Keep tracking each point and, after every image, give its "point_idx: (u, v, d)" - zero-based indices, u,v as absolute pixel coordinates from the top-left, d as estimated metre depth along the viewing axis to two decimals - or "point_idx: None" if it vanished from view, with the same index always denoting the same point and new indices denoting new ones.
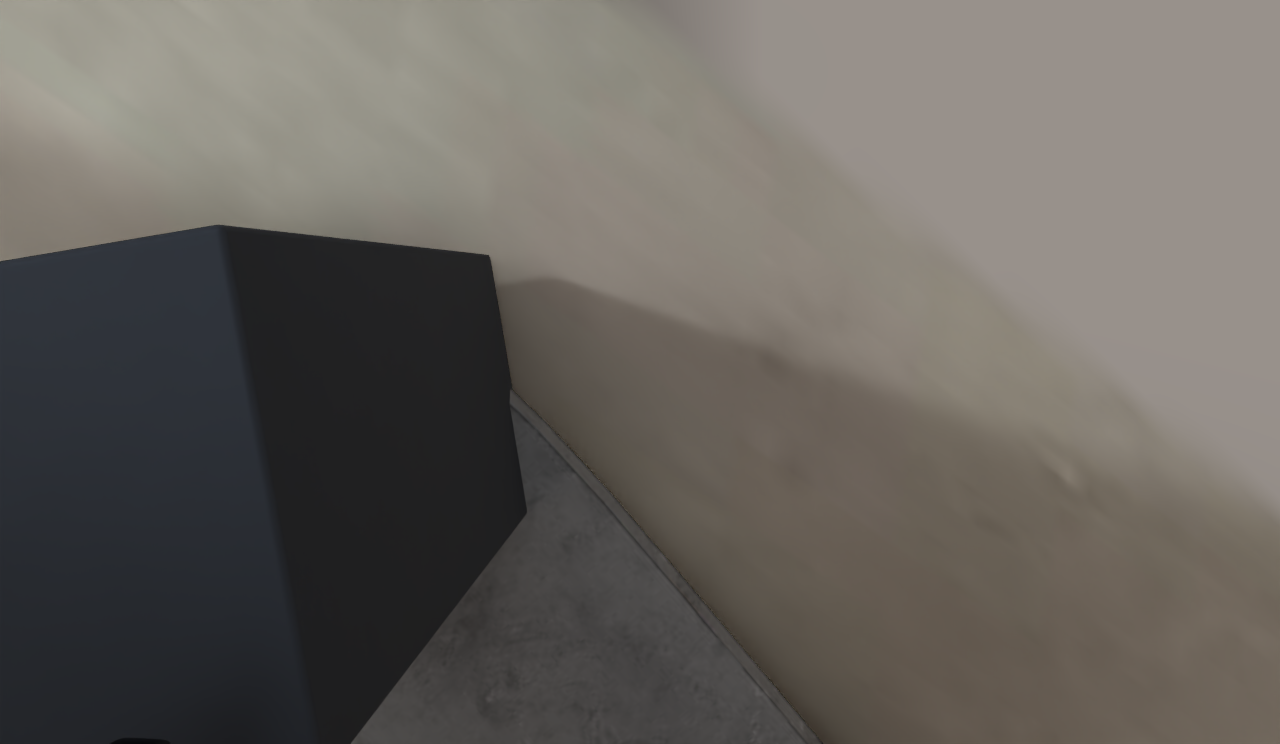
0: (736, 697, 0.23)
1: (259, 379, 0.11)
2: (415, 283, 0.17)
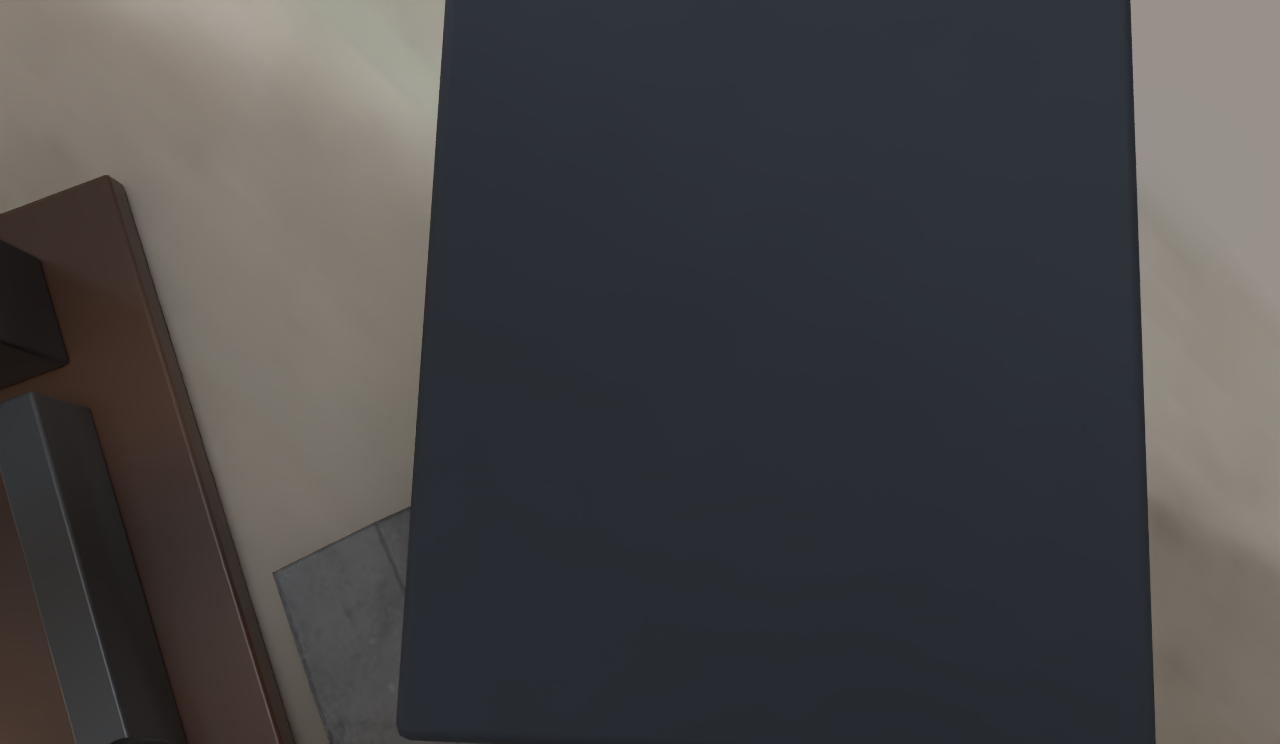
0: None
1: (1126, 119, 0.07)
2: None
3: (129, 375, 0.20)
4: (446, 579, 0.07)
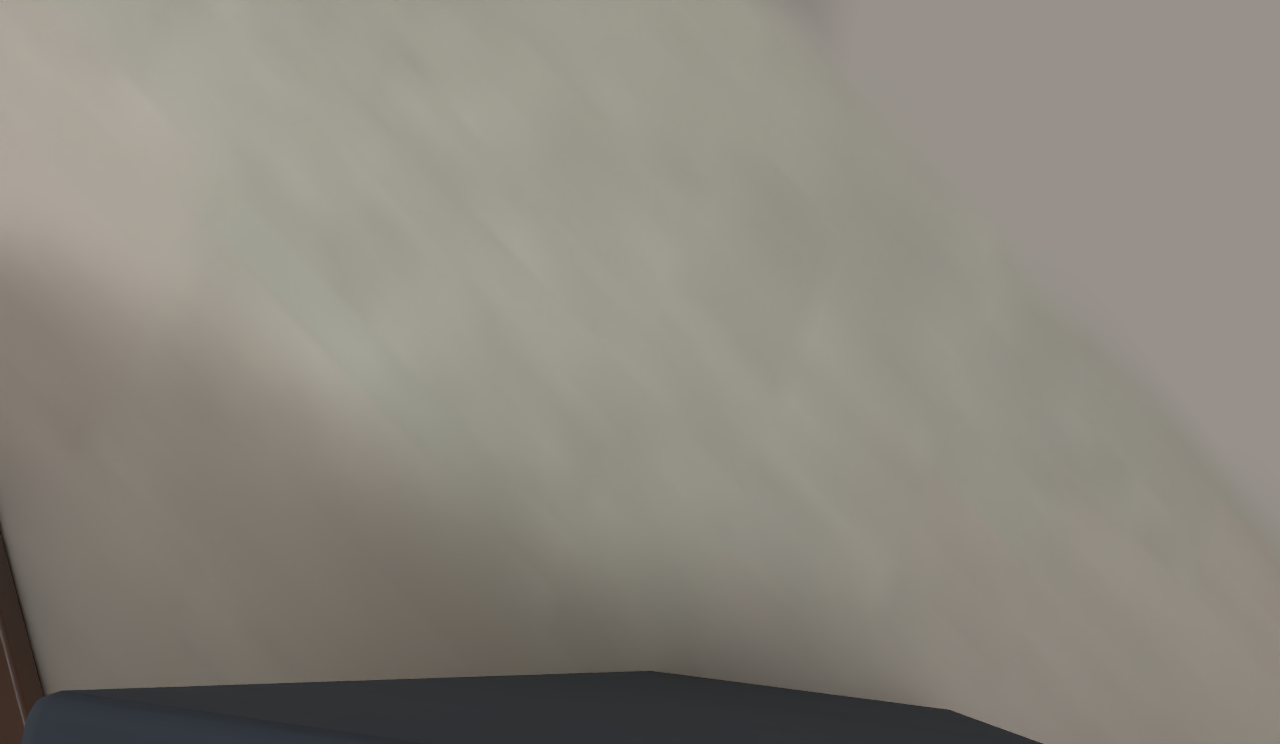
0: None
1: None
2: None
3: None
4: None
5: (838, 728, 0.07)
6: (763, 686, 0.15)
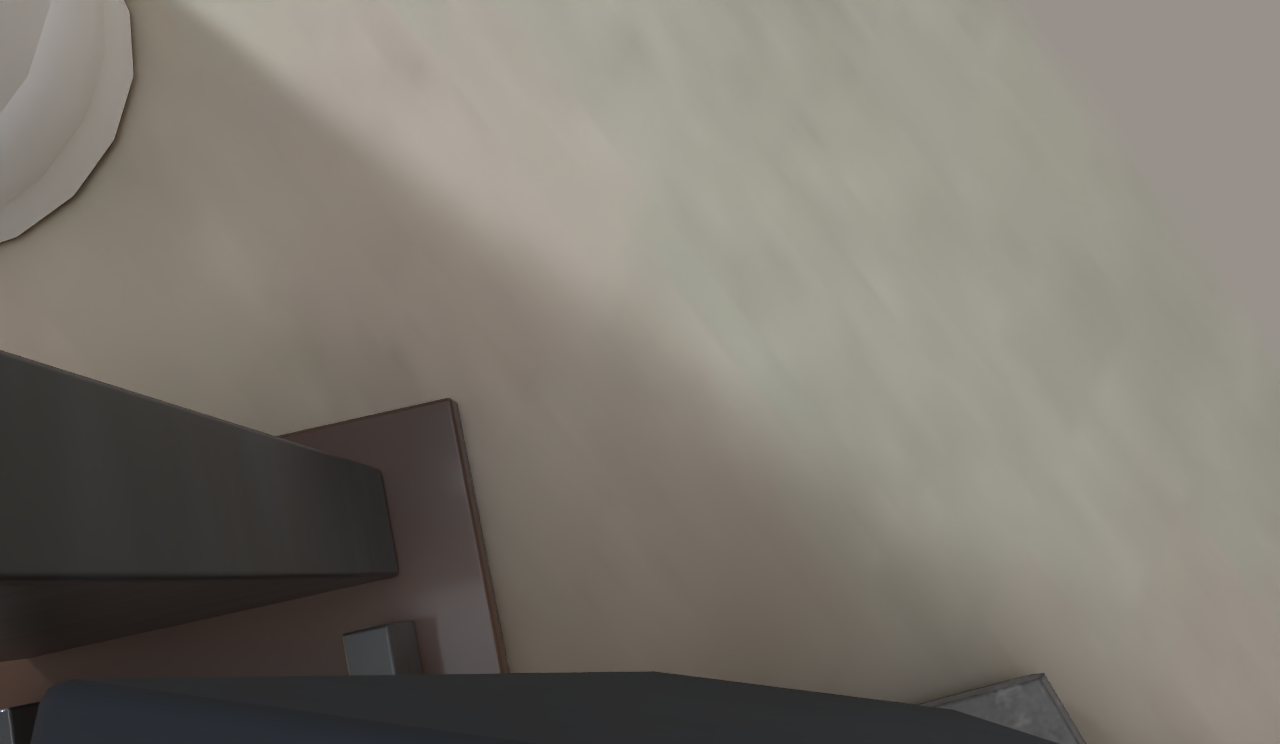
0: None
1: None
2: None
3: (453, 595, 0.22)
4: None
5: (843, 723, 0.07)
6: (767, 686, 0.15)
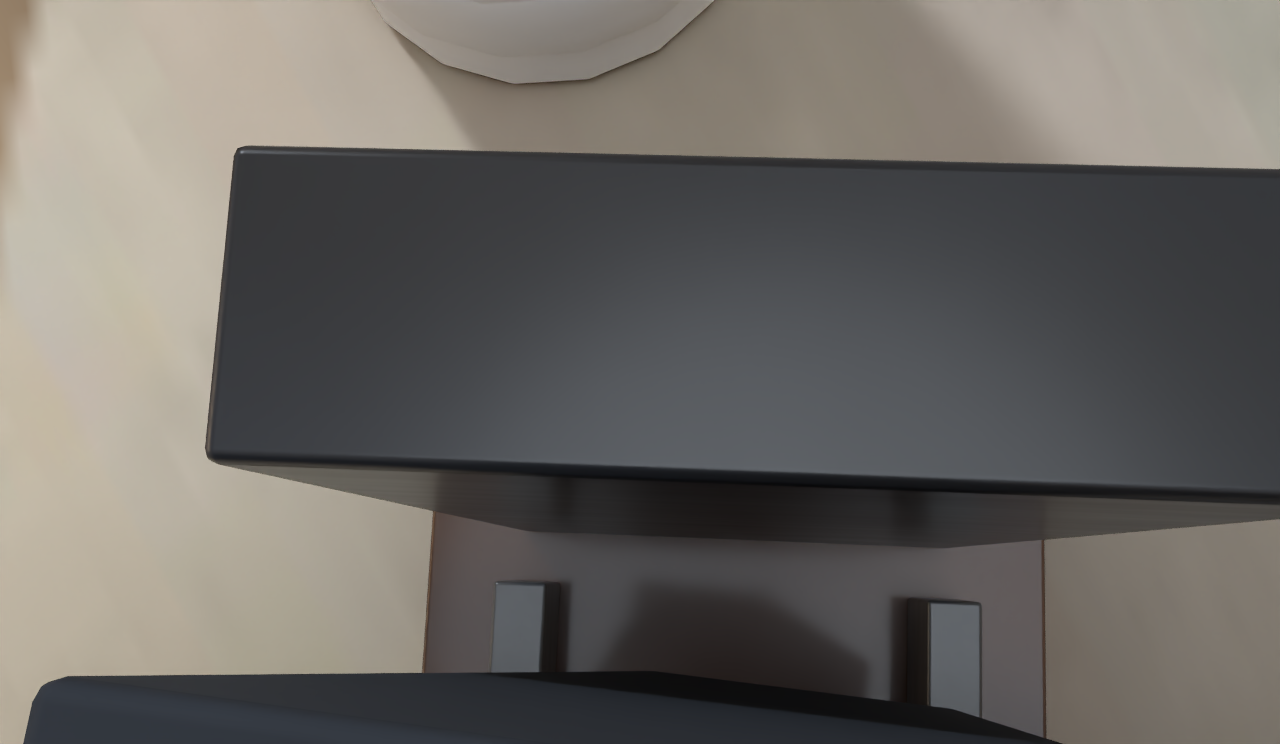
0: None
1: None
2: None
3: (1006, 584, 0.19)
4: None
5: (841, 721, 0.07)
6: (765, 685, 0.15)
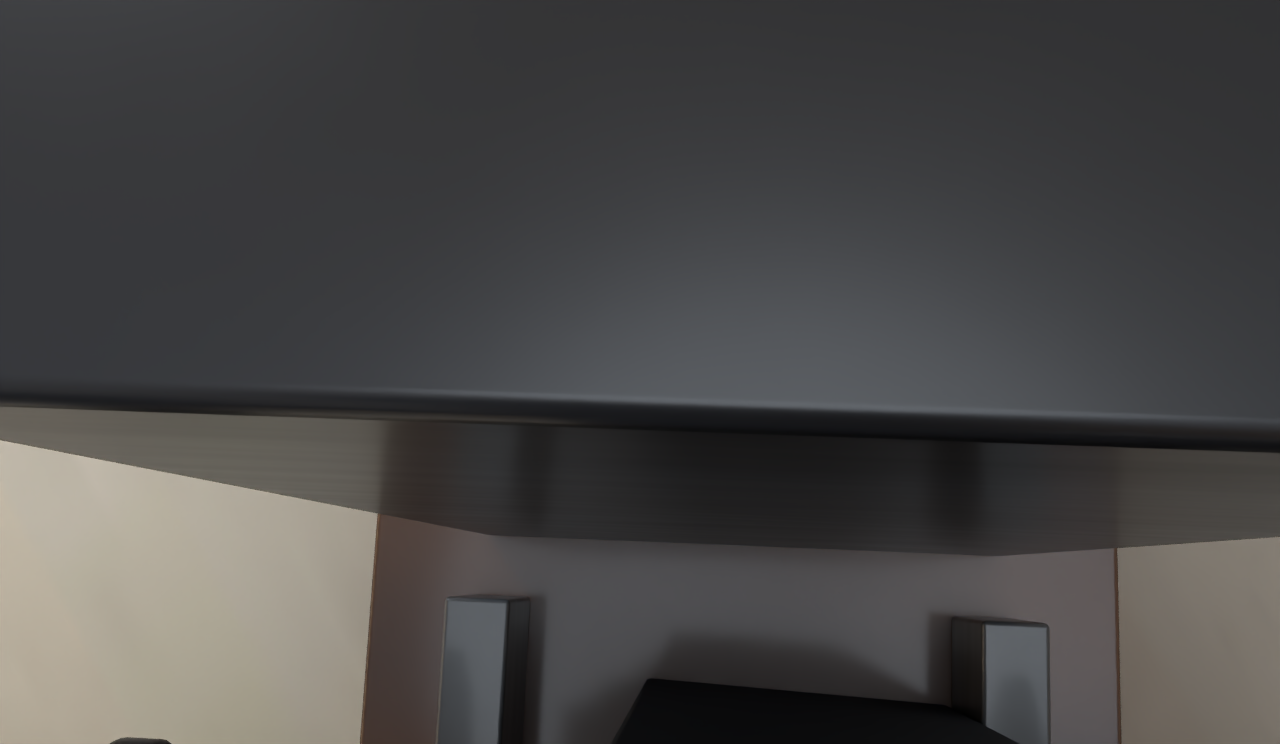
0: None
1: None
2: None
3: (1071, 600, 0.16)
4: None
5: None
6: (767, 691, 0.16)
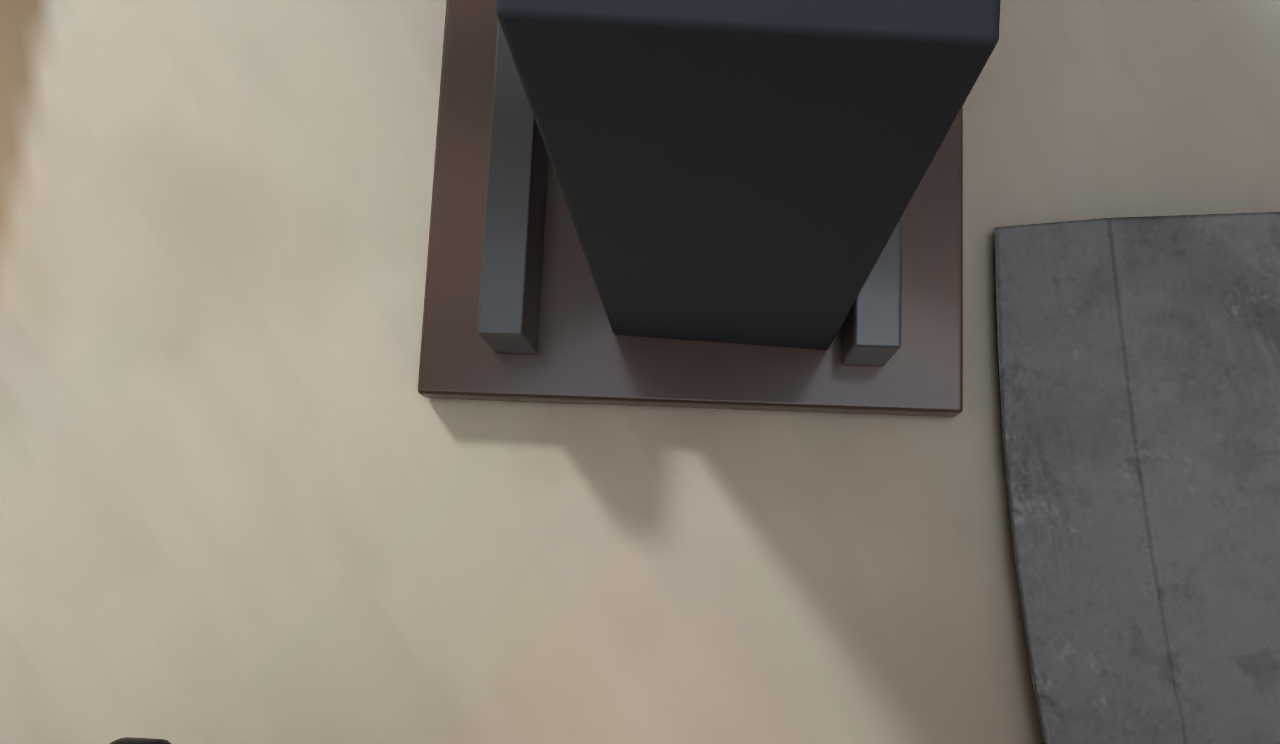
0: None
1: None
2: None
3: None
4: None
5: None
6: None
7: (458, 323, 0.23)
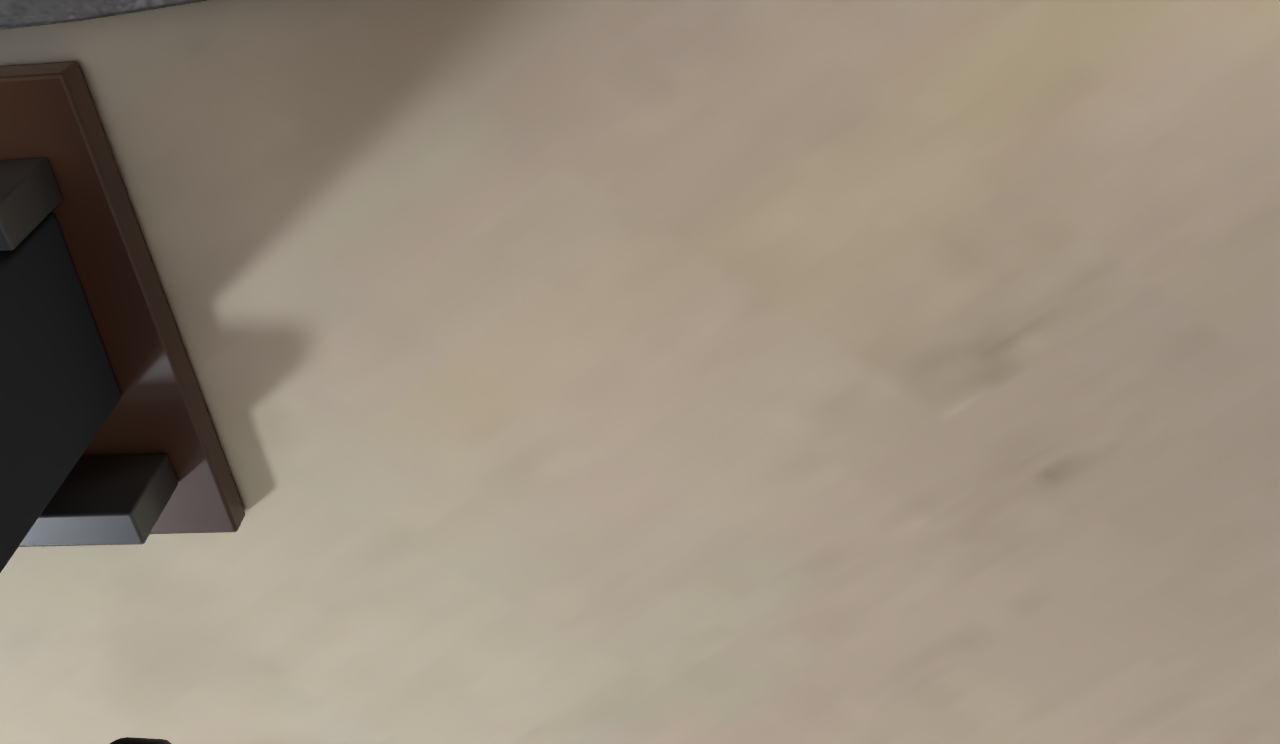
0: None
1: None
2: None
3: None
4: None
5: None
6: None
7: (165, 510, 0.25)
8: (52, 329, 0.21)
